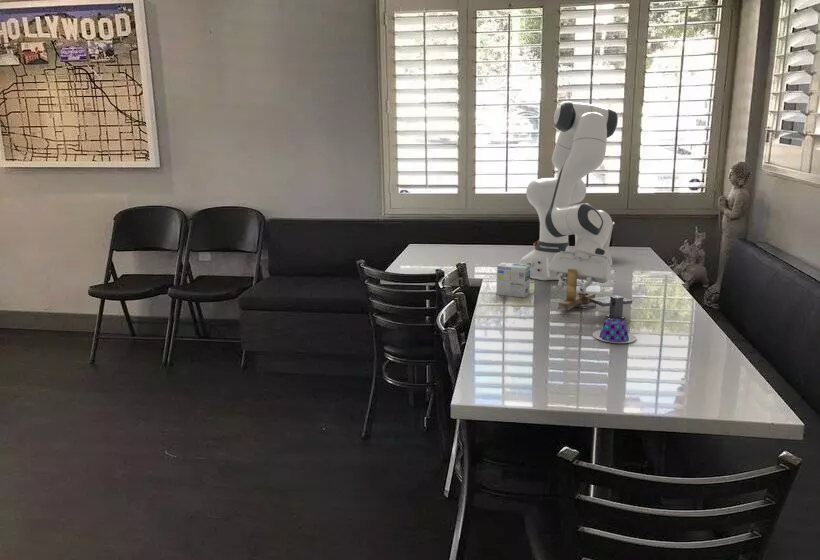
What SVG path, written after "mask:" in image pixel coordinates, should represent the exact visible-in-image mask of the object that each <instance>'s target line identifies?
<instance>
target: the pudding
mask: <svg viewBox="0 0 820 560" xmlns="http://www.w3.org/2000/svg"><path fill="white" fill-rule="evenodd" d="M599 335H600V336H599ZM592 337H594V338H595V339H597V340H600V341H601V342H602V341H603V342H606V343H611V344H618V343H620V344H627V343H628V344H629V343H633V342H635V341H636V340H637V337H636V335H634V334H632V333H630V332H629V331H628V325H627V323H626V321H625V320H620V319H608V318H606V320H604V322H603V325H602V328H601V329H599V330H595V331H594V332H592Z"/></svg>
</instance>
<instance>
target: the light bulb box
mask: <svg viewBox="0 0 820 560" xmlns="http://www.w3.org/2000/svg"><path fill="white" fill-rule="evenodd" d="M530 267H531V265H525V264H520V263H511V262H501V263H499V264H497V266H496V289H495V292H496V293H495V294H496V295H499V296H507V297H509V296H510V297H516V298H518V297H519V298H526V297H527V296H529V295H530V292H531V291H530V290H531V278H530Z"/></svg>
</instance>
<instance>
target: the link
mask: <svg viewBox="0 0 820 560" xmlns="http://www.w3.org/2000/svg"><path fill="white" fill-rule="evenodd" d="M577 272H578V270H577V269H568V278H567V279H566V280H567V281H566V283H567V284H566V297H565V299H564V300H561V301H559V302H558V303H557V309H559V310H562V311H563V310H564V311H568V310H570V309H571V308H575V307H574V306H576V305H579V304H581V303H589V302H590V298H596V293H593V292H588V291H586V296H584V295H580V290H577V287H578V286H577V285H578V283H577V282H578V279H577Z"/></svg>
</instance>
